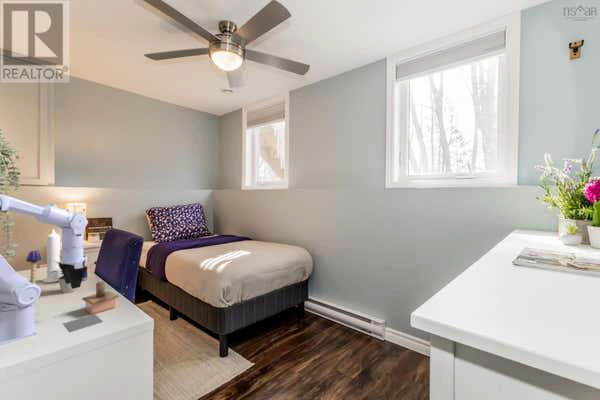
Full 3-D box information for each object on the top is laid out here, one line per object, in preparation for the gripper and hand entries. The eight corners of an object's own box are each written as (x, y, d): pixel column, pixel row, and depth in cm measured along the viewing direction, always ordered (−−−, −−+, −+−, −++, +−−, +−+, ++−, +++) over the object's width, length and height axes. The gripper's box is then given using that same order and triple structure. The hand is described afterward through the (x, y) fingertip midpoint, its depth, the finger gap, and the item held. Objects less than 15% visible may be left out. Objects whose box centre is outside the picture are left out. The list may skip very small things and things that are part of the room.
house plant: (34, 295, 108) (33, 255, 108) (70, 284, 121) (70, 249, 121) (60, 298, 105) (60, 258, 104) (94, 287, 118) (94, 251, 118)
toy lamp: (40, 286, 118) (40, 249, 117) (42, 289, 115) (42, 251, 114) (25, 289, 114) (25, 251, 114) (26, 292, 111) (26, 253, 111)
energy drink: (79, 282, 124) (79, 257, 124) (70, 281, 125) (69, 256, 125) (90, 278, 129) (90, 254, 129) (81, 278, 130) (81, 254, 130)
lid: (92, 304, 90) (92, 288, 90) (82, 300, 94) (82, 284, 94) (118, 297, 97) (118, 281, 97) (107, 293, 101) (107, 278, 101)
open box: (91, 315, 91) (91, 304, 91) (85, 310, 95) (85, 299, 95) (115, 308, 96) (115, 298, 96) (108, 303, 101) (108, 293, 101)
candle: (47, 279, 128) (47, 228, 127) (65, 277, 131) (65, 227, 130) (40, 283, 121) (40, 230, 121) (60, 281, 124) (60, 229, 124)
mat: (69, 333, 79) (69, 332, 79) (62, 324, 84) (62, 323, 84) (103, 322, 86) (103, 321, 86) (94, 315, 91) (94, 314, 91)
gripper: (93, 247, 91) (93, 286, 91) (81, 242, 100) (81, 278, 100) (66, 251, 85) (67, 292, 86) (56, 245, 94) (56, 283, 94)
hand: (72, 285), depth 92 cm, fingers open, 7 cm apart
